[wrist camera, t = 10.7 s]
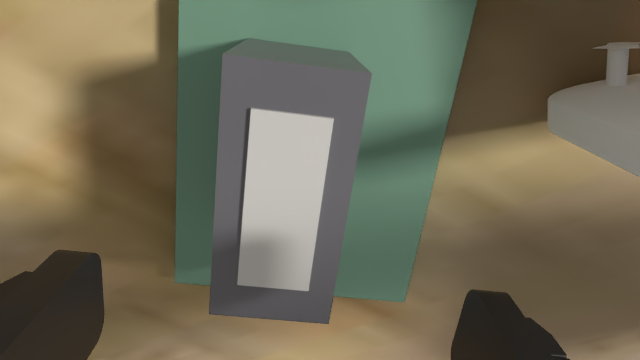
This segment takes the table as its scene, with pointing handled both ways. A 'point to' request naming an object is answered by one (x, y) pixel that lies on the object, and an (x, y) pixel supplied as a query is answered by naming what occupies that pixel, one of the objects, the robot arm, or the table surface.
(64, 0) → the table surface
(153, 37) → the table surface
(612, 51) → the white socket shroud
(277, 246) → the block
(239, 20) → the board
